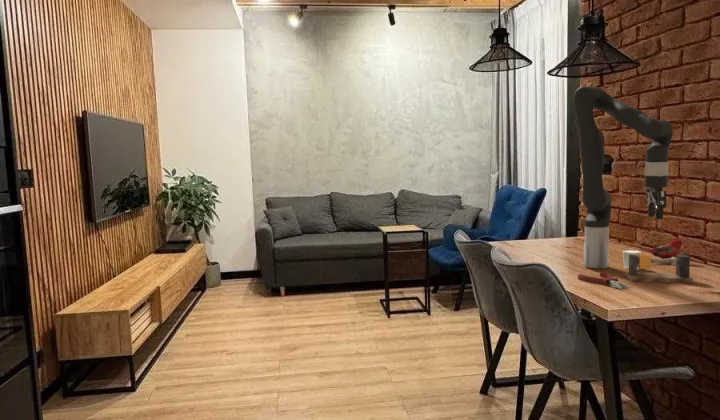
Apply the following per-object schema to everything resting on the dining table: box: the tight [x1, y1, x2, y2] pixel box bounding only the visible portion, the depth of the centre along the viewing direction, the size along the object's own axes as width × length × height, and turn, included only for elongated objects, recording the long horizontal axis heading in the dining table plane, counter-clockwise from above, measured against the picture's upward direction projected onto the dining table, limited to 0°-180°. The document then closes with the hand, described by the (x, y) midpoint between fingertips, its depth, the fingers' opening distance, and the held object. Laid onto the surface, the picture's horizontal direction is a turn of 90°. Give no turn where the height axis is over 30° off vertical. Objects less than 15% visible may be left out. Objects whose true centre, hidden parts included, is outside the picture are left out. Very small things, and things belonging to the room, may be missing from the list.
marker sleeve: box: [636, 252, 652, 270], centre depth 182 cm, size 4×5×5 cm
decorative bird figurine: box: [639, 238, 685, 259], centre depth 208 cm, size 3×18×10 cm, turn 83°
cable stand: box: [625, 254, 694, 284], centre depth 181 cm, size 20×8×9 cm, turn 75°
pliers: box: [577, 271, 631, 290], centre depth 179 cm, size 12×20×3 cm, turn 10°
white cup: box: [622, 249, 643, 270], centre depth 200 cm, size 7×7×7 cm
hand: (655, 217), depth 182 cm, fingers open, 8 cm apart
